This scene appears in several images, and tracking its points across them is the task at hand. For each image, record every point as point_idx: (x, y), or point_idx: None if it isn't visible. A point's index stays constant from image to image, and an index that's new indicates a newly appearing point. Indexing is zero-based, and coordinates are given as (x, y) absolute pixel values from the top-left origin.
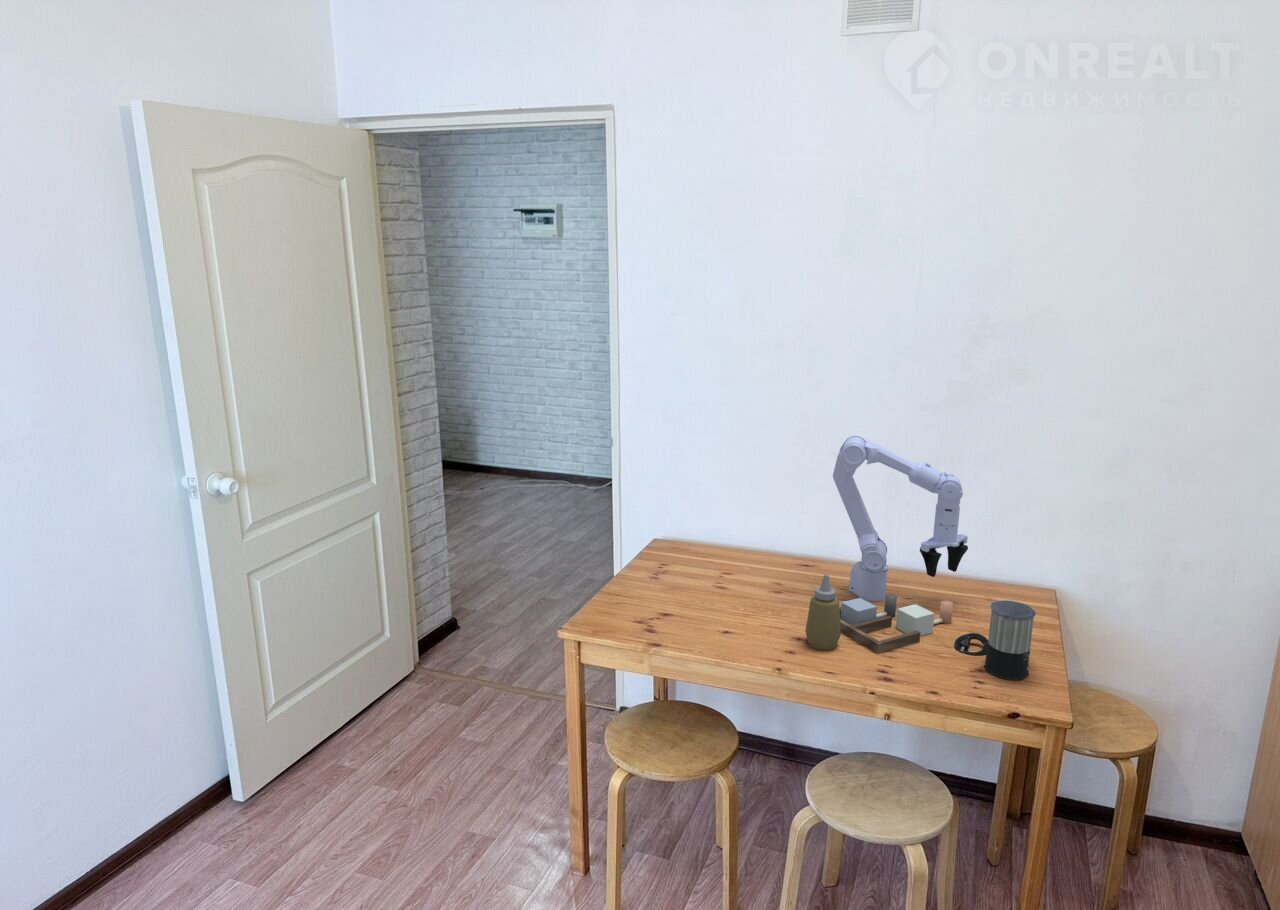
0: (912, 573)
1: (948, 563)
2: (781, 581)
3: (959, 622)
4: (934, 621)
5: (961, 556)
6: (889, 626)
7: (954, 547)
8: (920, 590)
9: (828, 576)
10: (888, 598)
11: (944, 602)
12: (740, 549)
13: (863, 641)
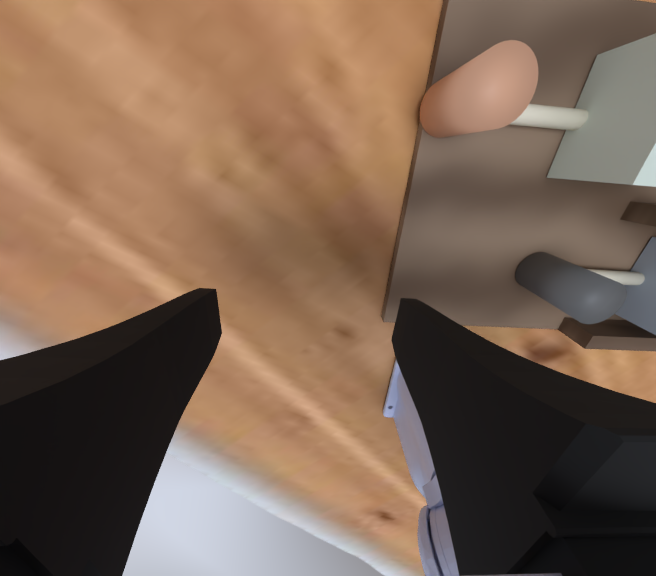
0: (194, 425)
1: (206, 363)
2: None
3: (366, 90)
4: (529, 106)
5: (82, 345)
6: (643, 202)
7: (75, 510)
8: (262, 351)
9: None
10: (623, 297)
11: (505, 102)
12: (417, 572)
13: None
